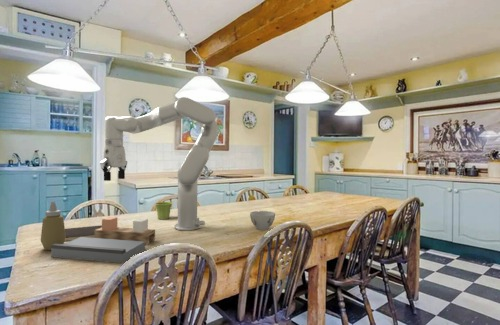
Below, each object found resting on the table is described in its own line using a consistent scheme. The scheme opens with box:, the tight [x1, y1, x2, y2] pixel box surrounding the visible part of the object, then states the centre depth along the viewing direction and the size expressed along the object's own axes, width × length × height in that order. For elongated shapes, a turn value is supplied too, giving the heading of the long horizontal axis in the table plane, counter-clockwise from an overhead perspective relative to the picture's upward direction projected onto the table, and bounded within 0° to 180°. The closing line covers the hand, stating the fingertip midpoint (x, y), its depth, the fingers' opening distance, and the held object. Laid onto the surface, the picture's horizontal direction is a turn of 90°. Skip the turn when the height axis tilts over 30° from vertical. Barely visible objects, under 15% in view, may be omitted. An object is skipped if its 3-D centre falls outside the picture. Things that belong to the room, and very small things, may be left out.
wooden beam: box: [95, 226, 156, 246], centre depth 120 cm, size 24×6×5 cm, turn 80°
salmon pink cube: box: [101, 216, 118, 231], centre depth 121 cm, size 4×4×4 cm
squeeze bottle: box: [40, 201, 66, 251], centre depth 110 cm, size 8×8×18 cm
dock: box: [50, 237, 146, 264], centre depth 105 cm, size 28×14×4 cm, turn 80°
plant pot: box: [154, 201, 173, 220], centre depth 162 cm, size 9×9×9 cm
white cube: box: [132, 218, 149, 233], centre depth 119 cm, size 4×4×4 cm
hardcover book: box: [64, 224, 102, 242], centre depth 128 cm, size 16×23×2 cm
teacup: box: [249, 210, 276, 231], centre depth 143 cm, size 15×12×8 cm
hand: (114, 179), depth 135 cm, fingers open, 9 cm apart
